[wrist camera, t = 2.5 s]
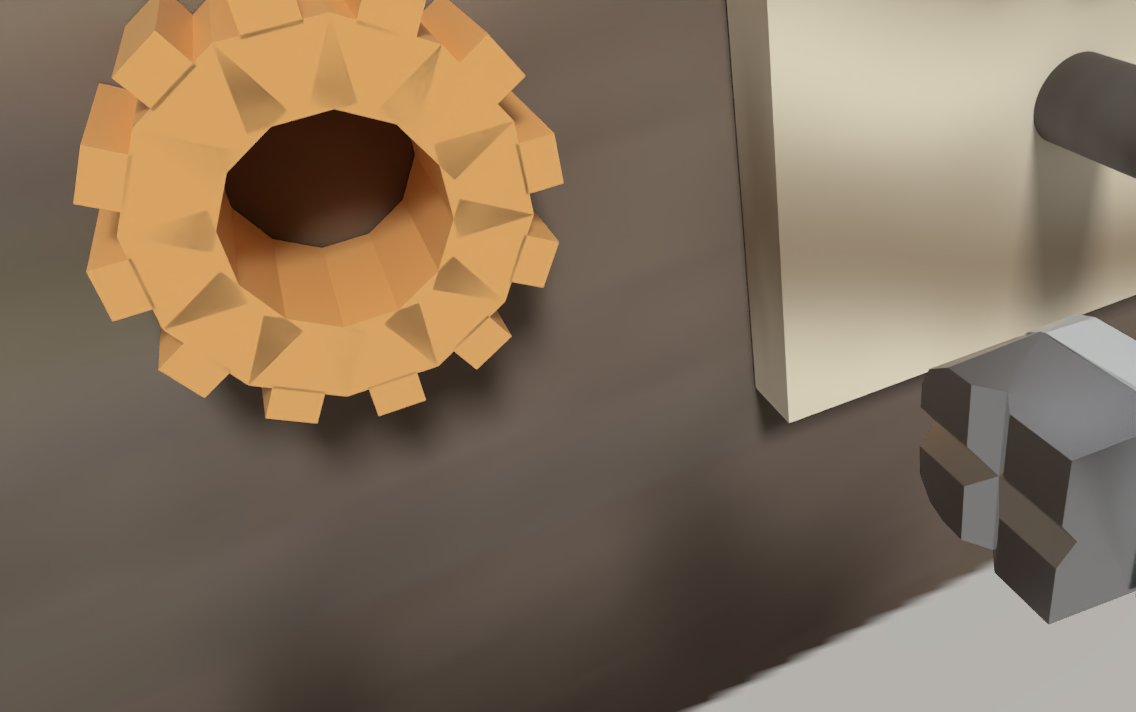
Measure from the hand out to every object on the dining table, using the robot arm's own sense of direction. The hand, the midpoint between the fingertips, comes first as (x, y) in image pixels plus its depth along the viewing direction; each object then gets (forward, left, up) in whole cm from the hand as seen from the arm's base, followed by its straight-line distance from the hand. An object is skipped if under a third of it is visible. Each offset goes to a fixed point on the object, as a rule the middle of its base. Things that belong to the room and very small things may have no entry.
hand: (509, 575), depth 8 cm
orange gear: (-1, 0, -10) cm, 10 cm away
